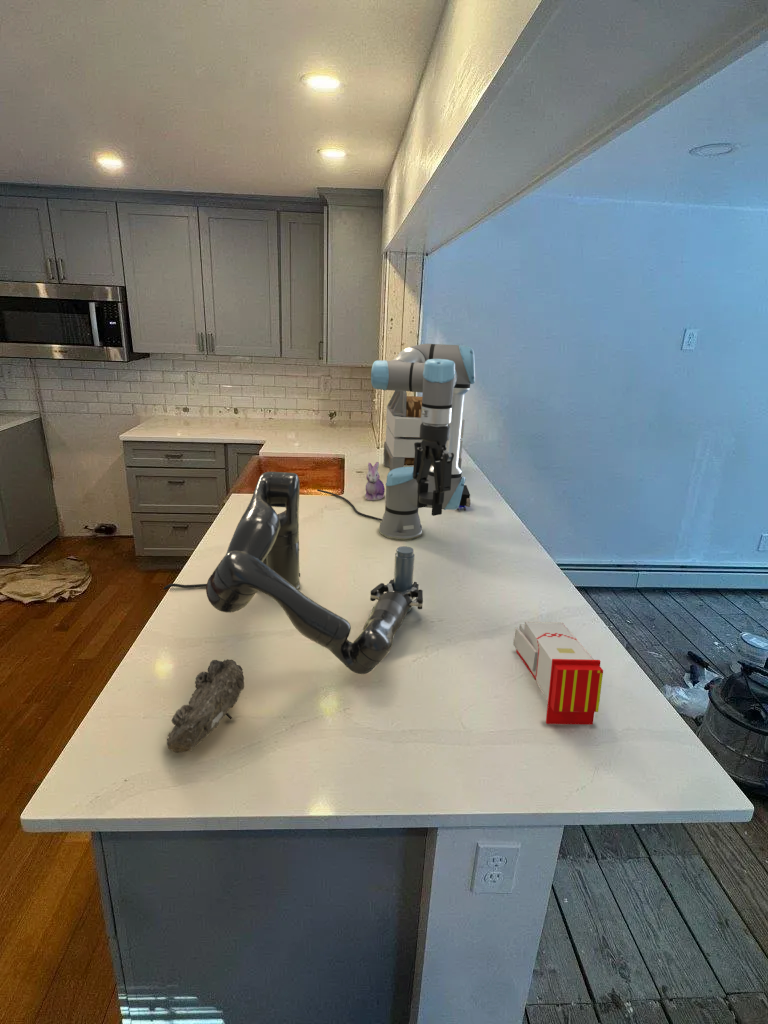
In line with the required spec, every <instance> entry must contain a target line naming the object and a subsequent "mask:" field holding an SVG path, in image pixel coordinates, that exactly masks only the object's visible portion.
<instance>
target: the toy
mask: <svg viewBox="0 0 768 1024" xmlns="http://www.w3.org/2000/svg"><path fill="white" fill-rule="evenodd" d="M514 629H515V630H514V637H513V643H512V644H513V647H514V648H515V653H516V654H517V655H518V657H519V658H520V660H521V662H522V663H523V664H524V665H525V667H526V669H527V670H528V672H529V673H530V675H531V676H532V678H533V679H534V680H535V682H536V684H537V686H538V687H539V689H540V691H541V692H542V694H543V696H544V698H545V700H546V702H547V707H546V715H545V716H546V717H545V724H546V725H582V726H583V725H585V726H586V725H589V726H591V725H594V719H595V713H599V709H600V701H601V693H602V686H603V685H602V684H603V677H604V669H603V668H602V667H601V662H602V661H601V660H600V659H594V657H592V655H591V654H590V653H589V651H588V650H587V649H586V648H585V647H584V646H583V644H582V643H581V642H580V641H579V640H578V639H577V638H576V636H575V635H574V634H573V633H572V632H571V631H570V629H569V628H568V627H567V625H566V624H564V622H562V621H561V622H559V621H558V622H557V621H556V622H555V621H524V623H519V627H515V628H514Z"/></svg>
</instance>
